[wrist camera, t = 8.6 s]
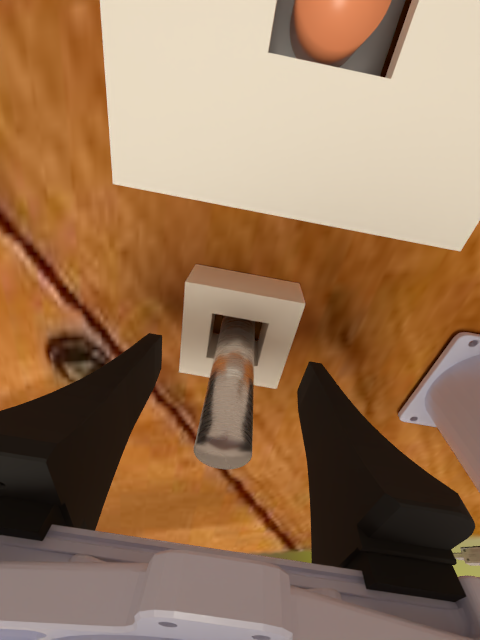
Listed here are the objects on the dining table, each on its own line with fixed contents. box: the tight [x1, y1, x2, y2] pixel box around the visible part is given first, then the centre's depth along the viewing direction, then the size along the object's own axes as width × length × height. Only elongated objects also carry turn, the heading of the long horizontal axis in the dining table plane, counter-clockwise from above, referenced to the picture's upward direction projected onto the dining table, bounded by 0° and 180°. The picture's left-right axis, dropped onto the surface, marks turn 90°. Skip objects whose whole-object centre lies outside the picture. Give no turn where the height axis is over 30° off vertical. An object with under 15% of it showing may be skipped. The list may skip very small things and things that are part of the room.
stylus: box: [194, 315, 255, 469], centre depth 13 cm, size 2×2×9 cm
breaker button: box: [269, 0, 405, 76], centre depth 9 cm, size 5×5×3 cm
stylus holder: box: [179, 264, 306, 389], centre depth 16 cm, size 6×6×2 cm
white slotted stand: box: [100, 0, 480, 251], centre depth 8 cm, size 13×12×4 cm
